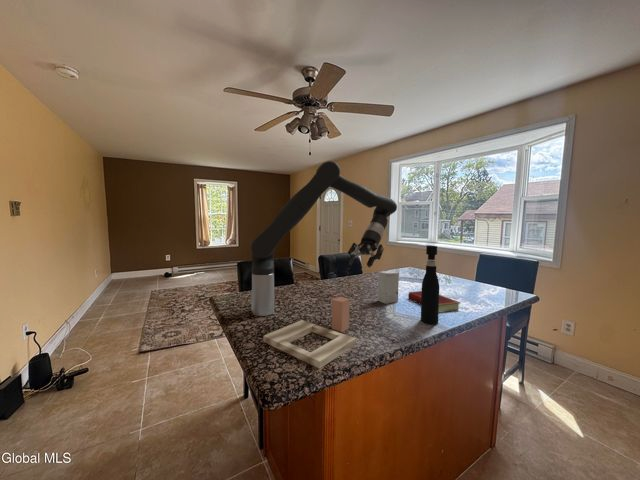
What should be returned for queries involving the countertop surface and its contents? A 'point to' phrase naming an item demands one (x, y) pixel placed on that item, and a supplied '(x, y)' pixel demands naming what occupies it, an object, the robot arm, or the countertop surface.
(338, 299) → the tall salmon pink block
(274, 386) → the countertop surface
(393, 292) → the skincare box
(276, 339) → the beige lopsided picture frame
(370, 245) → the robot arm
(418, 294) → the hardcover book
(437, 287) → the wine bottle
